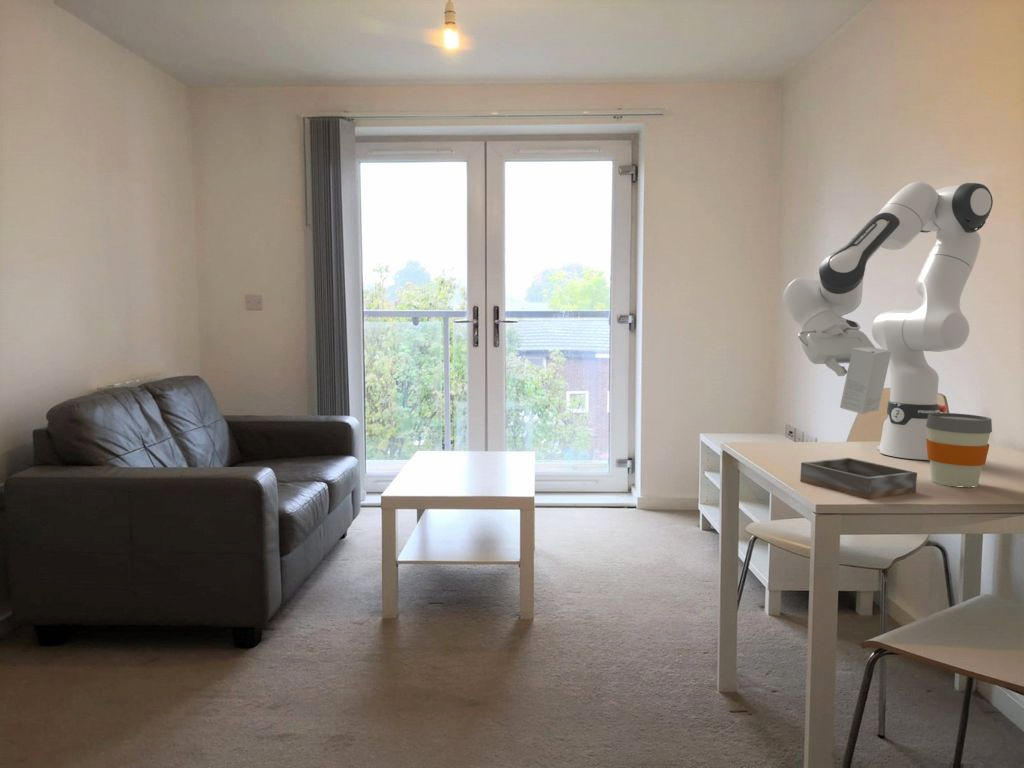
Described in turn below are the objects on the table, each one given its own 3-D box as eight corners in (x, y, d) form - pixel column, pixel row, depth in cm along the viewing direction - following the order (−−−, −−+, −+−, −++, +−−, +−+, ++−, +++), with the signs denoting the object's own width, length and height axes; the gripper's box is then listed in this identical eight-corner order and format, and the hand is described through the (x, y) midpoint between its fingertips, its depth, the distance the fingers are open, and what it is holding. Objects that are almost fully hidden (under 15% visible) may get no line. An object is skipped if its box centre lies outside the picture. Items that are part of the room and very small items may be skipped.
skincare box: (855, 405, 179) (867, 345, 176) (880, 411, 174) (892, 350, 171) (838, 408, 173) (850, 346, 170) (863, 414, 169) (876, 351, 166)
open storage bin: (847, 475, 169) (848, 457, 169) (915, 492, 154) (917, 472, 154) (800, 481, 163) (801, 462, 162) (866, 499, 147) (868, 478, 147)
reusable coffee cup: (965, 477, 169) (970, 413, 168) (1000, 490, 157) (1006, 421, 156) (911, 476, 170) (915, 412, 168) (941, 489, 157) (946, 420, 156)
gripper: (803, 322, 175) (834, 366, 167) (862, 322, 184) (895, 364, 176) (787, 340, 179) (818, 384, 171) (846, 339, 188) (877, 380, 180)
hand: (857, 373), depth 174 cm, fingers closed on skincare box, 8 cm apart
